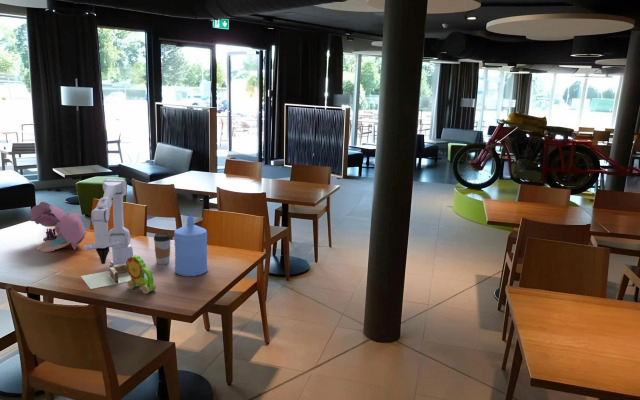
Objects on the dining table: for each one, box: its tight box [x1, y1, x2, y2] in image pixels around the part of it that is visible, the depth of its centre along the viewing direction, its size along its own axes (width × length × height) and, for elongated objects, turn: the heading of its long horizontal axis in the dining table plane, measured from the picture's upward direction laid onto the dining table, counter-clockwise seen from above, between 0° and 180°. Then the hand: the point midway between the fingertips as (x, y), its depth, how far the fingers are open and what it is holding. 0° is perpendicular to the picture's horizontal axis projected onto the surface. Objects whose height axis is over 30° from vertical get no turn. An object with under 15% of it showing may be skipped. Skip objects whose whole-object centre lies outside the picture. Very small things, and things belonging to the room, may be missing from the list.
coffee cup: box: [153, 232, 172, 265], centre depth 250 cm, size 8×8×15 cm
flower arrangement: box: [29, 201, 87, 253], centre depth 266 cm, size 35×24×28 cm
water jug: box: [173, 215, 208, 277], centre depth 239 cm, size 16×16×28 cm
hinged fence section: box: [109, 266, 118, 283], centre depth 226 cm, size 10×2×5 cm, turn 35°
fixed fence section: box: [109, 263, 128, 276], centre depth 234 cm, size 12×2×5 cm, turn 129°
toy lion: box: [126, 254, 157, 295], centre depth 217 cm, size 16×6×15 cm, turn 58°
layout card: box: [80, 270, 131, 290], centre depth 230 cm, size 24×18×1 cm
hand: (103, 263), depth 221 cm, fingers closed
